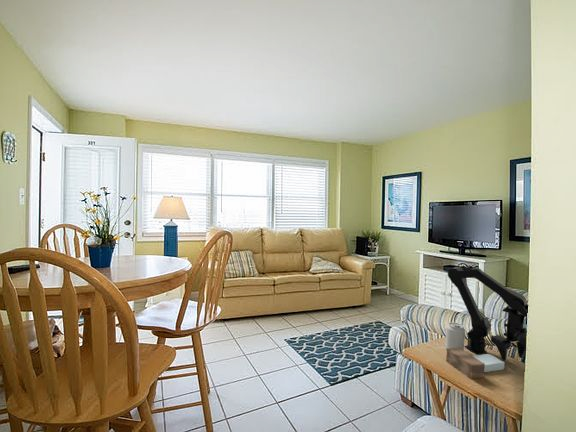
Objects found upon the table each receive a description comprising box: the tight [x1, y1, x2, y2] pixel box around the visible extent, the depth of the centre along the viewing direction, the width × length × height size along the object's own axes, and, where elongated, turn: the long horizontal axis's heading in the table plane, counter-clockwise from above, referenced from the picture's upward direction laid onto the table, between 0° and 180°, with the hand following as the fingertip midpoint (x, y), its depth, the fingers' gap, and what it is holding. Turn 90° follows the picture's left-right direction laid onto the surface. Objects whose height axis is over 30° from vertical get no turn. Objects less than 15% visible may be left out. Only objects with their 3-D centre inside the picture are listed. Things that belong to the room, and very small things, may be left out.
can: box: [444, 321, 466, 351], centre depth 140 cm, size 8×8×12 cm
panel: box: [472, 353, 505, 373], centre depth 128 cm, size 7×12×3 cm, turn 104°
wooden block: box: [445, 347, 485, 380], centre depth 125 cm, size 13×6×6 cm, turn 14°
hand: (512, 358), depth 131 cm, fingers open, 9 cm apart
